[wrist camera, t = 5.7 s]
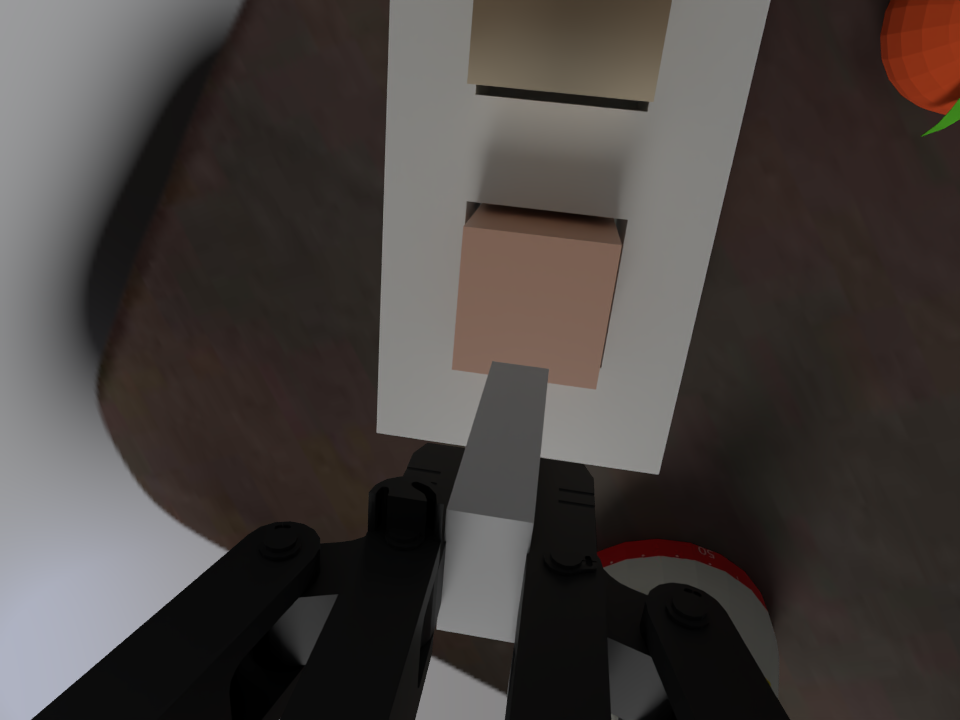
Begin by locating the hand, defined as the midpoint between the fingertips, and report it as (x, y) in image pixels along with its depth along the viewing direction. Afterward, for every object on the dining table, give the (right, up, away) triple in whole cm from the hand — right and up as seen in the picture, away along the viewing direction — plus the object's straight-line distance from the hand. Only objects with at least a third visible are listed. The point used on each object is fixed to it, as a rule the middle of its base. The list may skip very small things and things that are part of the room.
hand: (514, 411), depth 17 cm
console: (+3, +12, +14) cm, 19 cm away
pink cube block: (+2, +6, +14) cm, 15 cm away
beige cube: (+3, +15, +8) cm, 17 cm away
